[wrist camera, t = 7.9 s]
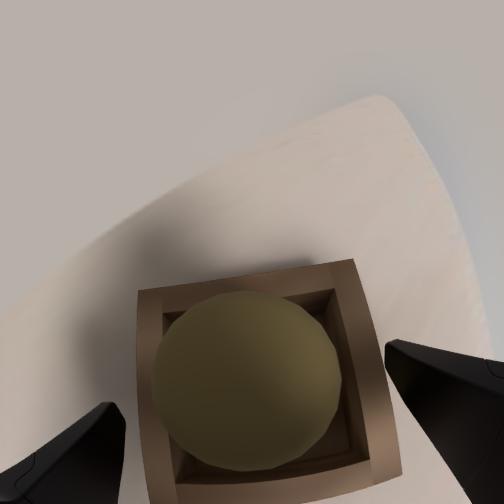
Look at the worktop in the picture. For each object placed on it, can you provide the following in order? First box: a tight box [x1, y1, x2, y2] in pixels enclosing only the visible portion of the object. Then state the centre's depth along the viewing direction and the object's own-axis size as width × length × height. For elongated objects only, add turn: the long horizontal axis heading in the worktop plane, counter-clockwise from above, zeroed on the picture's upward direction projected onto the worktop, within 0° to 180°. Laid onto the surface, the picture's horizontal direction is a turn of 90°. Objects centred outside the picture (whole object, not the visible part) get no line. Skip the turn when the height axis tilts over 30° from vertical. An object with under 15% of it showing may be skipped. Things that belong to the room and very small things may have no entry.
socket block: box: [136, 259, 402, 504], centre depth 14 cm, size 12×12×4 cm
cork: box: [151, 290, 342, 472], centre depth 10 cm, size 6×6×11 cm
